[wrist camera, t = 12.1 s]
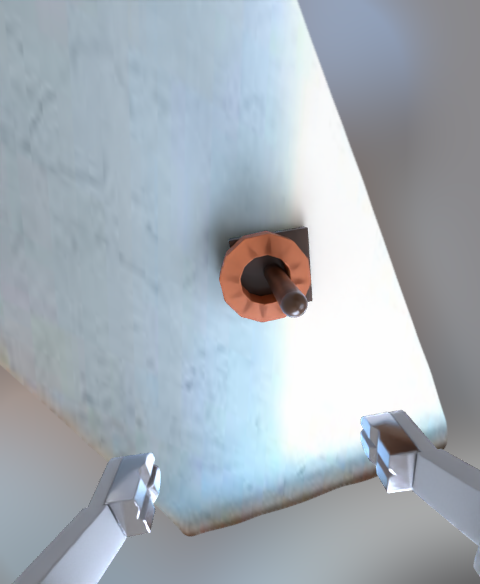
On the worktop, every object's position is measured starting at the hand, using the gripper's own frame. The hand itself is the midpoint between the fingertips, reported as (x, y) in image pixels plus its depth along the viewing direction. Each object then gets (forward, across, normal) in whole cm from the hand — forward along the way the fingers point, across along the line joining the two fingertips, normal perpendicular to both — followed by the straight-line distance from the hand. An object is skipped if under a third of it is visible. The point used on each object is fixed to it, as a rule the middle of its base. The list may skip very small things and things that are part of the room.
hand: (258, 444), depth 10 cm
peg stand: (+26, -5, +1) cm, 26 cm away
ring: (+24, -4, +1) cm, 24 cm away
